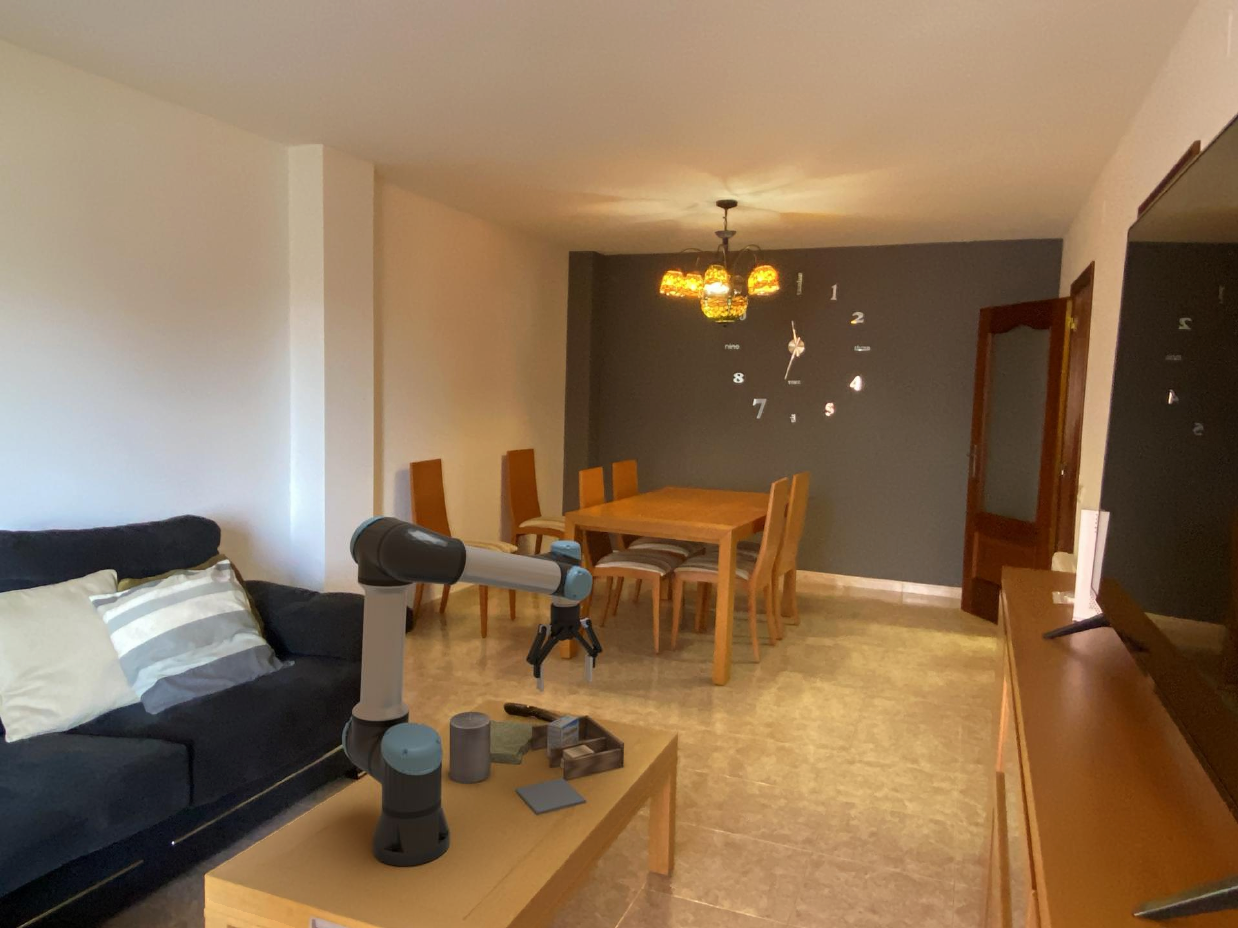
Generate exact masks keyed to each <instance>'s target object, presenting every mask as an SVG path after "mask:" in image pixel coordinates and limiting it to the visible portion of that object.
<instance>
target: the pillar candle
mask: <svg viewBox="0 0 1238 928" xmlns="http://www.w3.org/2000/svg"><path fill="white" fill-rule="evenodd" d="M491 720H492V718H491V716H490V715H488V714H487V713H484V712H480V711H465V712H460V713H457V714H454V715H453V716H452V717H450V720H449V766H448V767H449V771H448V773H449V778H450V779H451V780H452V781H453V782H455V783H460V784H473V783H478V782H481V781H482V782H483V781H485V780H486V779H487V778H489V777H490V774H491V763H490V755H491V754H490V724H491V723H490V721H491Z"/></svg>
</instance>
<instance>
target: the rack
mask: <svg viewBox="0 0 1238 928" xmlns="http://www.w3.org/2000/svg"><path fill="white" fill-rule="evenodd" d="M576 717H577V718H579V730H578V743H573V744H568V745H564V746H559V747H554V748H550V757H549V767H550V768H556V767H561V759H563V750H565V749H569V748H573V747H577V746H581V745H585V746H587V747H588V748H589V749H591V750H592V751H594V754H591V755H587V756H582V757H578V758H573V759H569V760H564V770H563V773H562V774H563V777H562V778H563V779H564V780H565V781H568V780H573V779H576V778H577V779H578V778H583V777H586V776H590V775H594V774H598V773H604V772H607V771H610V770H615V769H619V768H624V761H625V760H624V759H625V757H624V755H625V743H624V742H623V741H622V740H620V739H619V738H618V737H617V736H615V735H614V734H613V733H611V732H610V731H608V730H607V729H606V728H605V727H603V726H602V725H601V724H599V723H598V722H596V721H595V720H594V719H592V718H591V717H590V716H589V715H587V714H586V715H582V716H576ZM552 722H553V721H552ZM552 722H546V723H540V724H537V725H535V726H532V746H531V748H530V749H531V750H532V751H535V750H539V749H545V748H547V739H548V724H550V723H552Z"/></svg>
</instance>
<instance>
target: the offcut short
mask: <svg viewBox="0 0 1238 928" xmlns="http://www.w3.org/2000/svg"><path fill="white" fill-rule="evenodd" d="M591 754H594V751H592V750H591V749H589V748H588V747H587V746H585V745H581V746H577V747H573V748H569V749H565V750H563V760H569V759H573V758H578V757H582V756H587V755H591Z"/></svg>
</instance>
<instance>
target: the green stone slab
mask: <svg viewBox="0 0 1238 928" xmlns="http://www.w3.org/2000/svg"><path fill="white" fill-rule="evenodd" d="M490 723H491V724H490V754H491V755H490V764H503V765H505V764H506V765H520V764H521V763H522V761H523V760H522V758H523V756H524V755H525V754H527V753H528V750H530V749H531V746H532V726H535V725H538V724H537V723H526V722H524V723H523V722H516V721H513V720H507V719H506V720H502V721H496V720H492V719H491V721H490Z"/></svg>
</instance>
